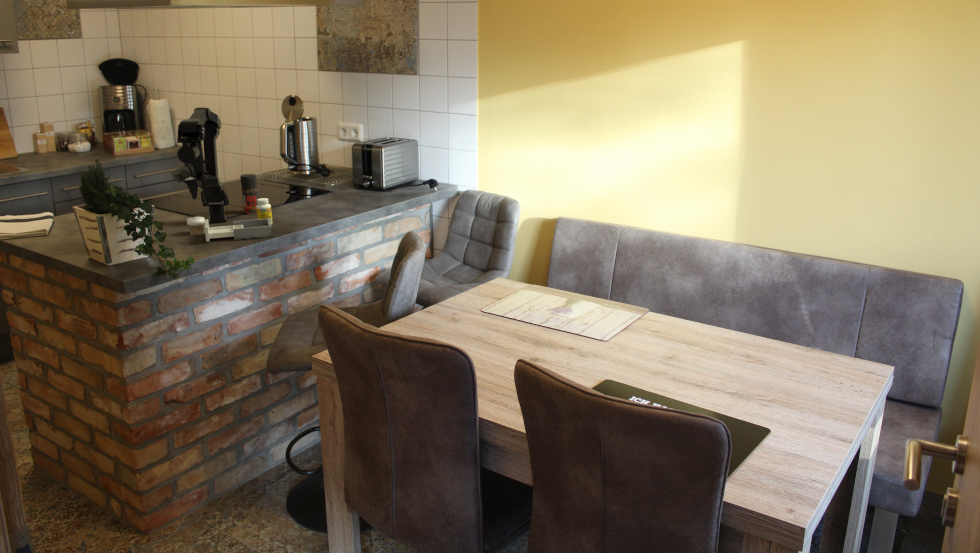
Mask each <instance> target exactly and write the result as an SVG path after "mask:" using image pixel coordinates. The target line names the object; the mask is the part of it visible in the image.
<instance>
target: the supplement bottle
mask: <svg viewBox="0 0 980 553" xmlns="http://www.w3.org/2000/svg"><path fill="white" fill-rule="evenodd" d="M257 203H258V205H257V206H256V210H257V213H256V217H257V219H268V218H270V221H271V224H272V225H273V223H274V222H273V214H272V212H273V211H272V205H271V204H270V203H269V198H266V197H264V198H263V197H262V198H258V199H257Z"/></svg>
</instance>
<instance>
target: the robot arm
mask: <svg viewBox="0 0 980 553" xmlns="http://www.w3.org/2000/svg"><path fill="white" fill-rule="evenodd" d="M221 128H222V122H221V118H220V116H219V115H218V114H217V113H215V112H213V111H211V110H210V108H209V107H195V108H194V109H193V113H192V114H191V115H190V116H189V118H188V119H187V118H186V119H182V120H181V121H180V122H179V124H178V125H177V137H176V138H177V140H176V141H177V142H176V143H177V144H181V145H182V146H181V147H180V148H178V150H177V158H178V160H179V161H180V162H182V163H183V166H179V167H178V168H176V169H174V170H173V171H170V174H171V176H172V178H173V180H174V182H178V183H179V184H180V183H183V184H185V185H186V187H187V190H188V192H189V193H190V195H191V197H192V199H193V200H197V197H198V191H199V189H200V190H201V191H200V198H201V203H202V206H203V207H207V208H208V215H209V218H208V222H209V224H211V223H212V224H214V223H225V222H228V219H227V216H226V211H225V207H227V206H229V205H230V200H229V196H228V195H227V192H226V190H225V188H224V185H223V184H222V182H221V180H220V179H219V167H218V166H219V165H218V152H217V151H218V150H217V139H218V137H219V135H220V134H221ZM202 143H203V144H202Z"/></svg>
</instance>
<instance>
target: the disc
mask: <svg viewBox="0 0 980 553" xmlns="http://www.w3.org/2000/svg"><path fill="white" fill-rule="evenodd" d="M186 223H187V226H189V225H190V226H197V225H202V224H203V225H205V217H203V216H193V217H192V216H191V217H188V218H187V219H186Z"/></svg>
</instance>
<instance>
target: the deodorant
mask: <svg viewBox="0 0 980 553" xmlns="http://www.w3.org/2000/svg"><path fill="white" fill-rule="evenodd" d="M257 182H258V181H257V175H256V174H254V173H247V174H246V173H244V174H241V175H240V185H241V194H242V195H241V196H242V204H243V213H244V212H245V213H248V214H247V215H253V214H254V213H255V214H257V210H256V206H257V205H258V203H257V199H259V195H258V194H259V193H258V192H259V191H258V183H257ZM245 213H244V214H245Z"/></svg>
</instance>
